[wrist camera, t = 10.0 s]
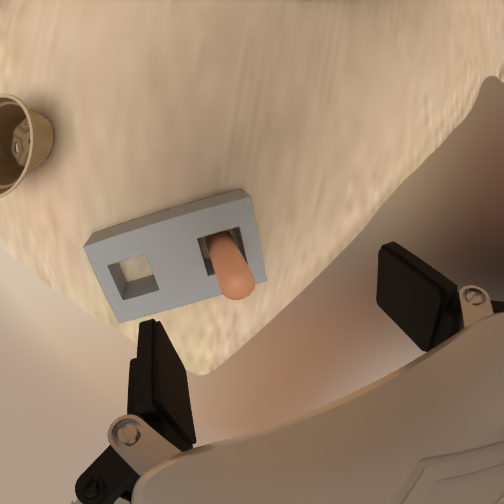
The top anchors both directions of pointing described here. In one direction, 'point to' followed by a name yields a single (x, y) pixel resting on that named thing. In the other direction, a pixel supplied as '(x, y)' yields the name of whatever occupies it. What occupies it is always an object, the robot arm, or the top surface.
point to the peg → (229, 266)
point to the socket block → (172, 254)
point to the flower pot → (21, 141)
